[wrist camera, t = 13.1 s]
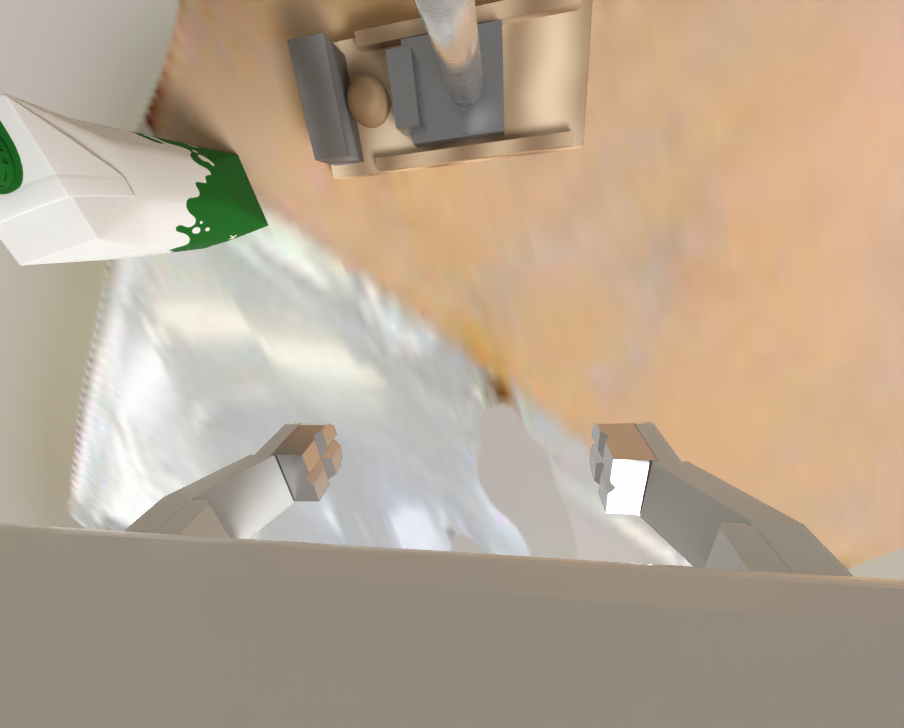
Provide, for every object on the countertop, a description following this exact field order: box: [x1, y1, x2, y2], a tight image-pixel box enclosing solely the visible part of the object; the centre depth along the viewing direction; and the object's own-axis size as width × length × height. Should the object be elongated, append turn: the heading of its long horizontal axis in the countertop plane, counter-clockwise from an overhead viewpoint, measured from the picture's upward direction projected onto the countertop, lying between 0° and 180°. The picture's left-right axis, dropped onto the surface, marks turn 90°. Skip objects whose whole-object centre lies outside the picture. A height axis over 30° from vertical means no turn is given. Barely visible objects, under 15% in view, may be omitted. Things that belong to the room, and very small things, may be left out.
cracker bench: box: [287, 0, 593, 179], centre depth 27 cm, size 24×10×6 cm, turn 96°
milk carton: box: [0, 94, 268, 265], centre depth 27 cm, size 9×9×20 cm
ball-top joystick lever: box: [385, 0, 505, 148], centre depth 19 cm, size 9×7×21 cm
